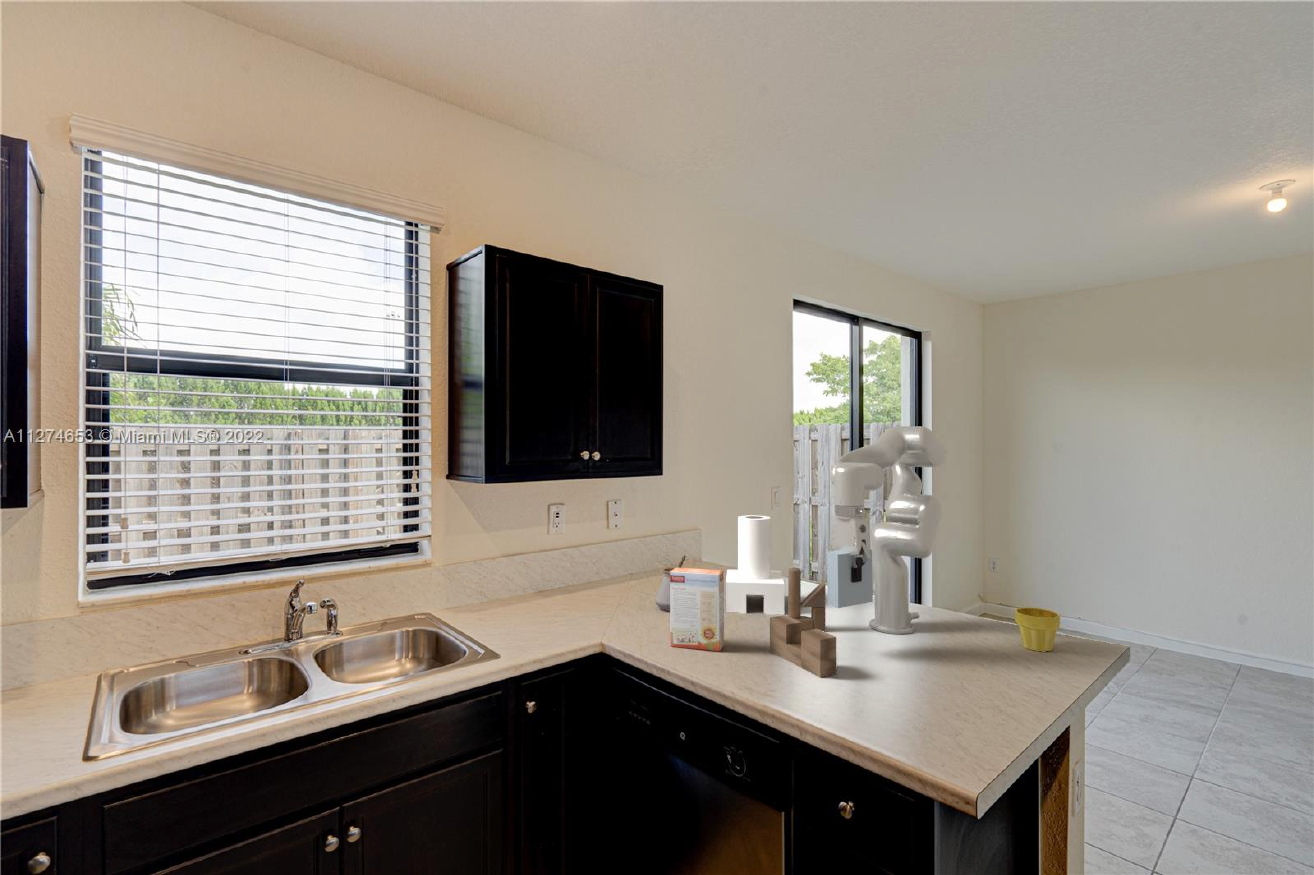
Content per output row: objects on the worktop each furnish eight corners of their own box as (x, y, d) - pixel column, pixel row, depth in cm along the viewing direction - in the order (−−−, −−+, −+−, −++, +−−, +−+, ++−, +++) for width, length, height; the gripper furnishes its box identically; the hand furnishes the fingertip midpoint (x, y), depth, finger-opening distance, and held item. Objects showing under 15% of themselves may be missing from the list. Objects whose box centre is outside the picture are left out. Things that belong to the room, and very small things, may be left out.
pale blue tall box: (861, 597, 169) (861, 547, 168) (872, 601, 165) (872, 549, 165) (827, 604, 163) (827, 551, 163) (838, 608, 160) (837, 554, 159)
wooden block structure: (825, 632, 180) (825, 570, 180) (788, 631, 181) (788, 570, 181) (823, 628, 184) (823, 568, 184) (786, 627, 185) (786, 567, 185)
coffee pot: (683, 614, 198) (683, 568, 198) (649, 611, 202) (649, 565, 202) (701, 598, 218) (701, 555, 218) (670, 595, 222) (670, 553, 222)
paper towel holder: (727, 597, 219) (727, 513, 219) (780, 599, 216) (780, 514, 216) (725, 612, 200) (725, 520, 200) (784, 615, 198) (784, 521, 197)
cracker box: (724, 645, 169) (724, 569, 169) (719, 652, 164) (719, 574, 163) (676, 639, 174) (676, 566, 174) (669, 646, 168) (669, 570, 168)
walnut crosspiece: (784, 648, 167) (784, 615, 167) (836, 674, 149) (836, 637, 149) (769, 651, 165) (769, 617, 165) (820, 677, 147) (820, 640, 147)
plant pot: (1012, 649, 166) (1012, 613, 166) (1017, 639, 174) (1017, 604, 174) (1058, 657, 159) (1058, 620, 159) (1061, 646, 168) (1061, 610, 168)
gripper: (883, 514, 158) (884, 585, 158) (838, 506, 173) (838, 571, 173) (861, 516, 154) (862, 589, 155) (817, 509, 169) (818, 575, 170)
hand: (850, 579), depth 164 cm, fingers closed on pale blue tall box, 4 cm apart
